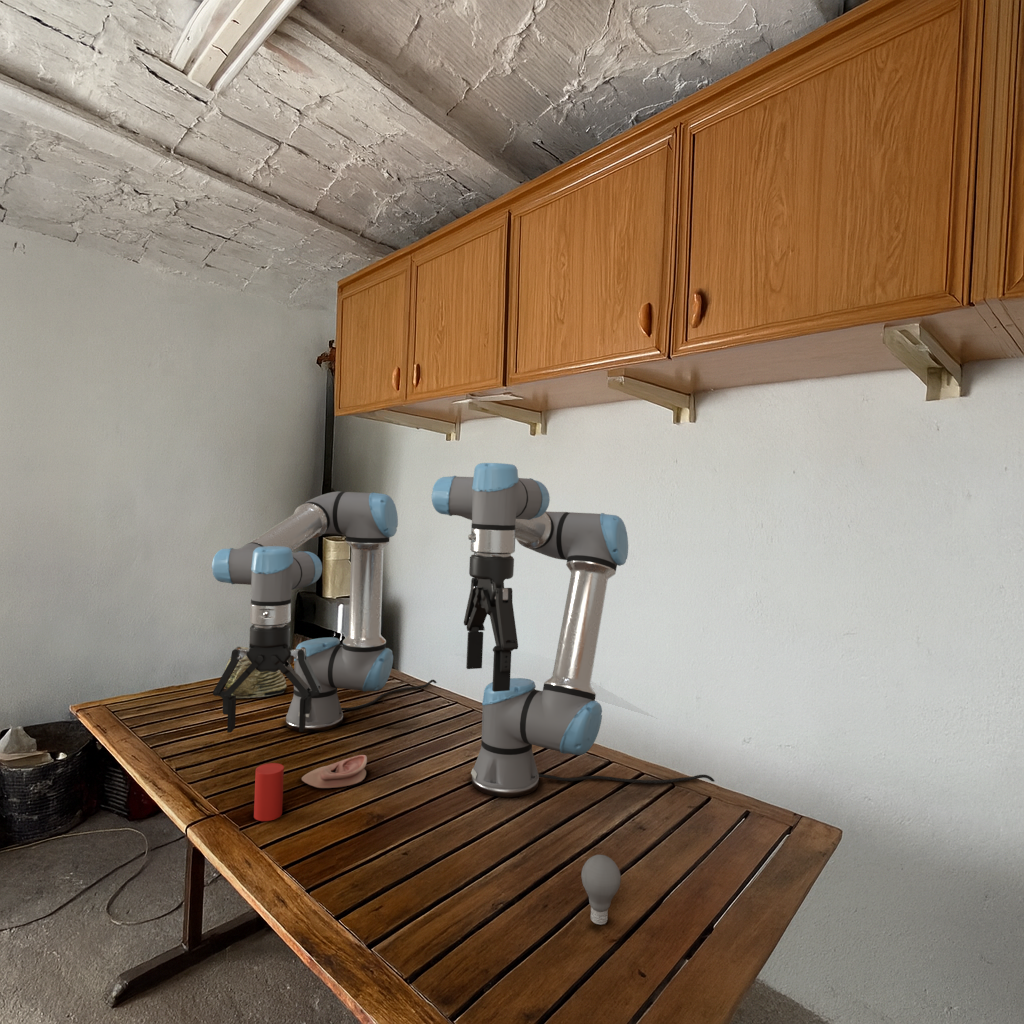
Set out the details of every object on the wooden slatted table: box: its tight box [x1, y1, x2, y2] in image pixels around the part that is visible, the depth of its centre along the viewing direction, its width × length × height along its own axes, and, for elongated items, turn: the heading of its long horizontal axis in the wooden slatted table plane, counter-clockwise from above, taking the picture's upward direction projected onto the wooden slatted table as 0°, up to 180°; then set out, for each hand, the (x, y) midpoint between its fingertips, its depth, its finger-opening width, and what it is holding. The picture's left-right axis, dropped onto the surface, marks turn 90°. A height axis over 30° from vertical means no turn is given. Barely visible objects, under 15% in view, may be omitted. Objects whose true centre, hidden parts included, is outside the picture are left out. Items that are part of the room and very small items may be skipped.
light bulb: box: [580, 854, 622, 926], centre depth 97 cm, size 6×6×10 cm
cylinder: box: [253, 762, 285, 822], centre depth 125 cm, size 5×5×9 cm
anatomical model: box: [301, 754, 368, 789], centre depth 143 cm, size 13×4×12 cm
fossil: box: [224, 646, 288, 699], centre depth 198 cm, size 9×18×15 cm, turn 132°
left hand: (266, 729), depth 127 cm, fingers open, 13 cm apart
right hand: (486, 678), depth 108 cm, fingers open, 13 cm apart
